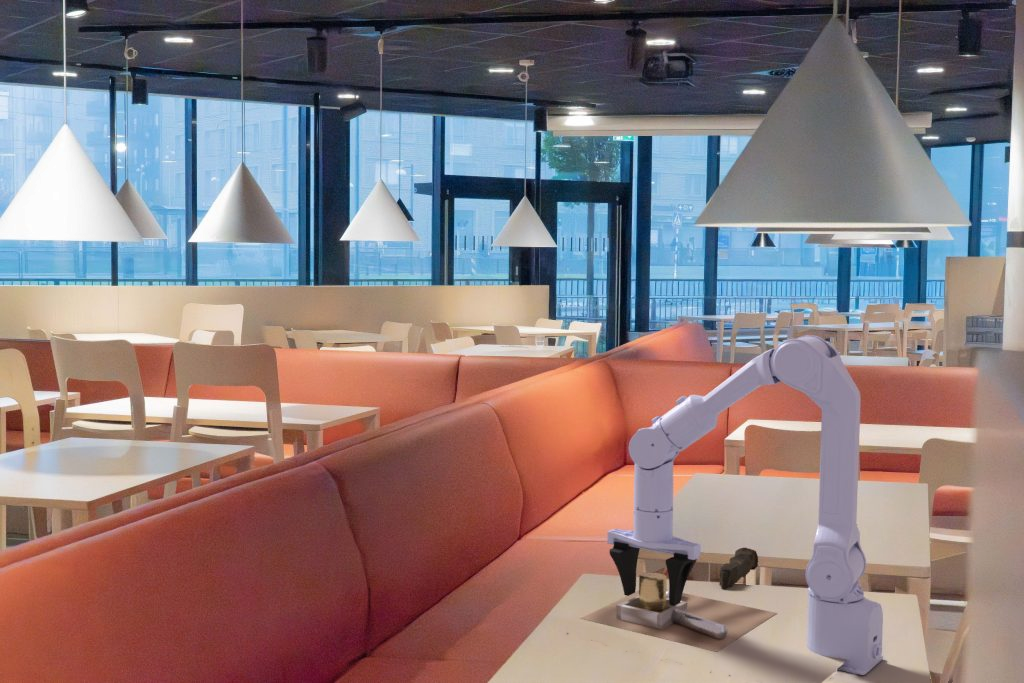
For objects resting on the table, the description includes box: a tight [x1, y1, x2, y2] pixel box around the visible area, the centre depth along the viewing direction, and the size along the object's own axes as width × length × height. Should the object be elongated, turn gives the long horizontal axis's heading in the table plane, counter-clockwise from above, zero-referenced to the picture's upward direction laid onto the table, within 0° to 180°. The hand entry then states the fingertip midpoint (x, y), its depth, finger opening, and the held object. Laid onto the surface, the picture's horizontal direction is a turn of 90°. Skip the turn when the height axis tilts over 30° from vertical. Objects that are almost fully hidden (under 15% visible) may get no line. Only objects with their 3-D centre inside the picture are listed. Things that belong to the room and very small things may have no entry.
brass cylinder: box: [638, 572, 668, 613], centre depth 158 cm, size 4×4×6 cm
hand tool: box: [719, 547, 759, 590], centre depth 180 cm, size 19×4×5 cm, turn 154°
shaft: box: [671, 609, 727, 640], centre depth 152 cm, size 9×2×2 cm, turn 38°
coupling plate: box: [580, 590, 778, 653], centre depth 158 cm, size 22×20×4 cm
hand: (652, 598), depth 158 cm, fingers open, 7 cm apart
